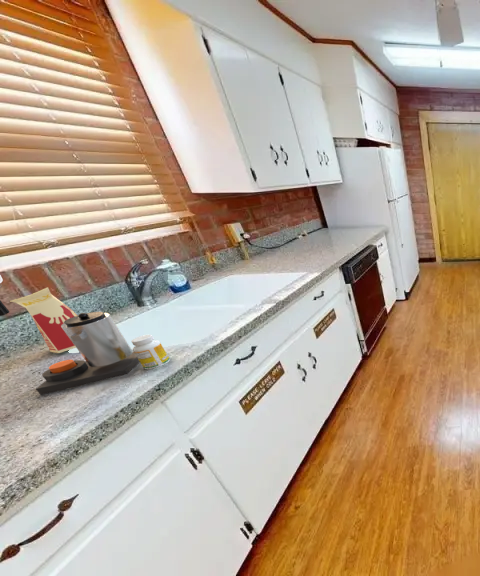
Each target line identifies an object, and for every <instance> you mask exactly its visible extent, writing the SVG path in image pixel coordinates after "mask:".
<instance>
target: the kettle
mask: <svg viewBox="0 0 480 576" xmlns="http://www.w3.org/2000/svg"><path fill="white" fill-rule="evenodd" d="M61 327H62V329H63V330H64V331H65V333H66V334H67V336H68V337H69V338H70V340H71V341H72V342H73V344H74V345H75V347H76V348H75V349H77V351H78V352H79V354H80V355H81V356H82V358H83V360H84V361H86V362H87V363H88V364H89V366H91V367H100V366H105V365H109V364H112V363H115V362H118V361H121V360H123V359H125V358H127V357H128V356H130V355H131V354H132V353H133V348H131V346H130V345H129V342H128V341H127V340H126V338H125V337H124V335H123V334H122V332H121V331H120V329H119V327H118V326H117V324H116V322H115V321H114V319H113V318H112V316H111V314H110V313H108V312H104V311H92V312H80V313H79V314H77V316H75V317H72V318H70V319H67V320H66V321H64V324H62V325H61Z"/></svg>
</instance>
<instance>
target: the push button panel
mask: <svg viewBox="0 0 480 576" xmlns="http://www.w3.org/2000/svg"><path fill="white" fill-rule="evenodd" d="M73 361H74V362H75V363H76V365H77V366H75V367H73V368H71V369H69V370H66V371H63V372H60V373H52V372H51V371H50V369H49V368H48V369H47V370H46V371H43V373H41V376H42V377H43V379H44V380H45V381H44V382H42V383H41V384H40V385H38V386H37V387H36V388H35V390H36V392H37V393H38V394H39V395H40V396H44V395H49V394H52V393H57V392H61V391H65V390H69V389H73V388H78V387H81V386H86V385H90V384H94V383H98V382H102V381H103V382H104V381H106V380H110V379H114V378H118V377H124V376H127V375H129V374H130V373H131V372H132V371H133V370H134V369H135V368H136V367H137V366H138V365H139V364H141V363H140V361H139V360H138V358H137V357H136V355H135V353H134V352H133V353H132V354H131V355H130V356H128V357H127V358H125V359H123V360H121V361H118V362H115V363H112V364H109V365H105V366H100V367H91V366H89V364H88V363H87V362H86V360H85V359H76V360H73Z"/></svg>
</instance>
